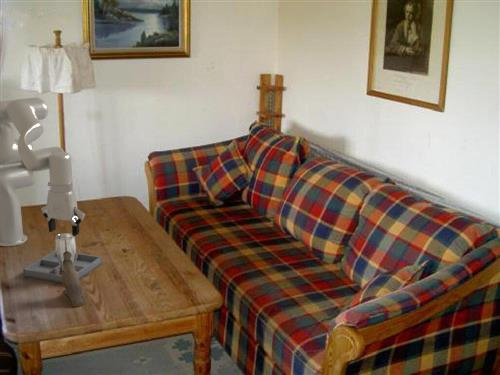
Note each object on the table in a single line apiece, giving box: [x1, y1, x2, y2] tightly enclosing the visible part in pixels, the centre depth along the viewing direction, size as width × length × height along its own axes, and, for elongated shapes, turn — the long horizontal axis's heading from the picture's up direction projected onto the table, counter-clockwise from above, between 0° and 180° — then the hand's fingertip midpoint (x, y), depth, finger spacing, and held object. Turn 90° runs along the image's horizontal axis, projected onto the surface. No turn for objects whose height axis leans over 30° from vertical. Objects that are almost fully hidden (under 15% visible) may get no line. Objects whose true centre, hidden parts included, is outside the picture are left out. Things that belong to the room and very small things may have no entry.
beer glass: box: [55, 232, 77, 275], centre depth 231 cm, size 7×7×15 cm
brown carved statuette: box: [61, 251, 88, 308], centre depth 216 cm, size 12×6×18 cm, turn 32°
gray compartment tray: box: [23, 249, 103, 285], centre depth 239 cm, size 20×20×3 cm
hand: (64, 232), depth 229 cm, fingers open, 9 cm apart
